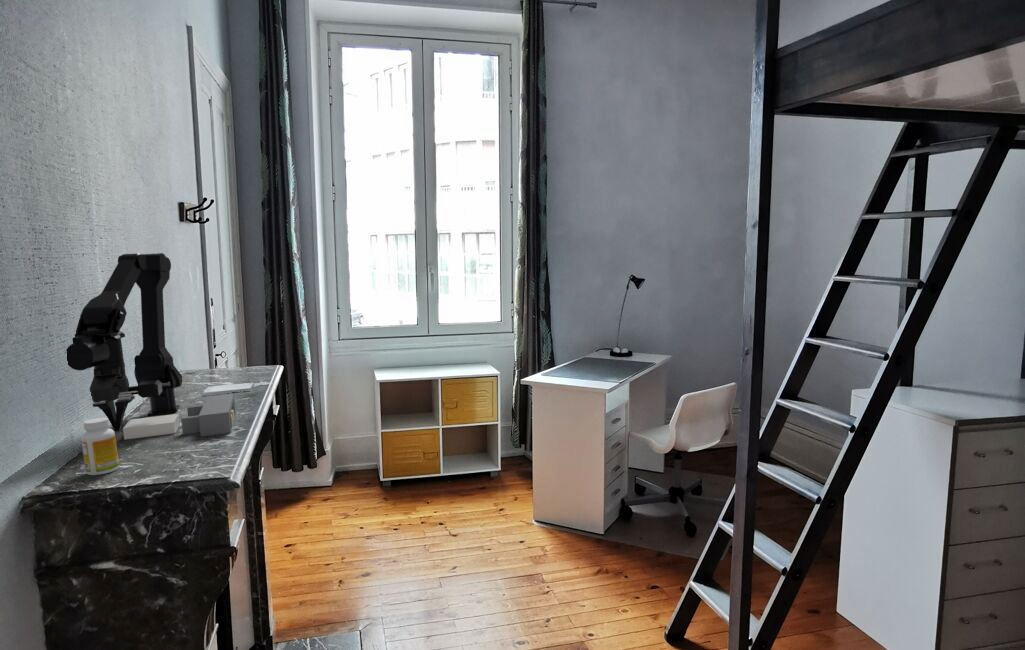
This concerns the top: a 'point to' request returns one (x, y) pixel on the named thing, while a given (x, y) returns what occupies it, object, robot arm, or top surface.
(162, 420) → the white flat block
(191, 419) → the dock
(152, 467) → the top surface
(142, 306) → the robot arm
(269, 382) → the top surface
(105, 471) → the supplement bottle
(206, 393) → the hard drive
